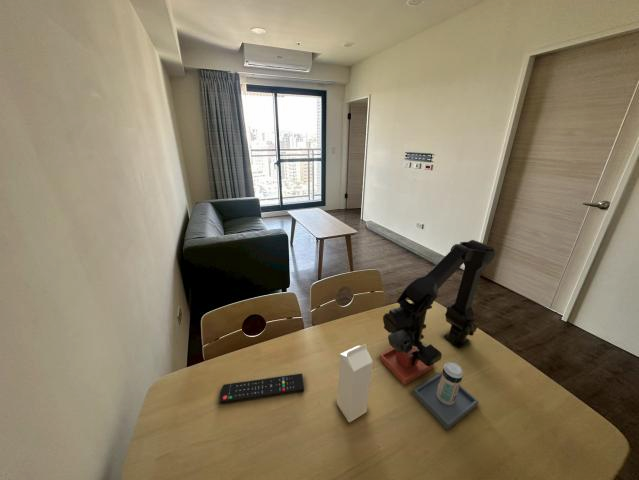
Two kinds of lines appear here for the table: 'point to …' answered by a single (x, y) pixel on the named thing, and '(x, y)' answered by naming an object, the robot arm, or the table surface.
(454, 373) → the pill bottle
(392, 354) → the red tray
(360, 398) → the milk
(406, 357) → the red block
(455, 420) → the grey tray
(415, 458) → the table surface
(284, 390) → the remote control
